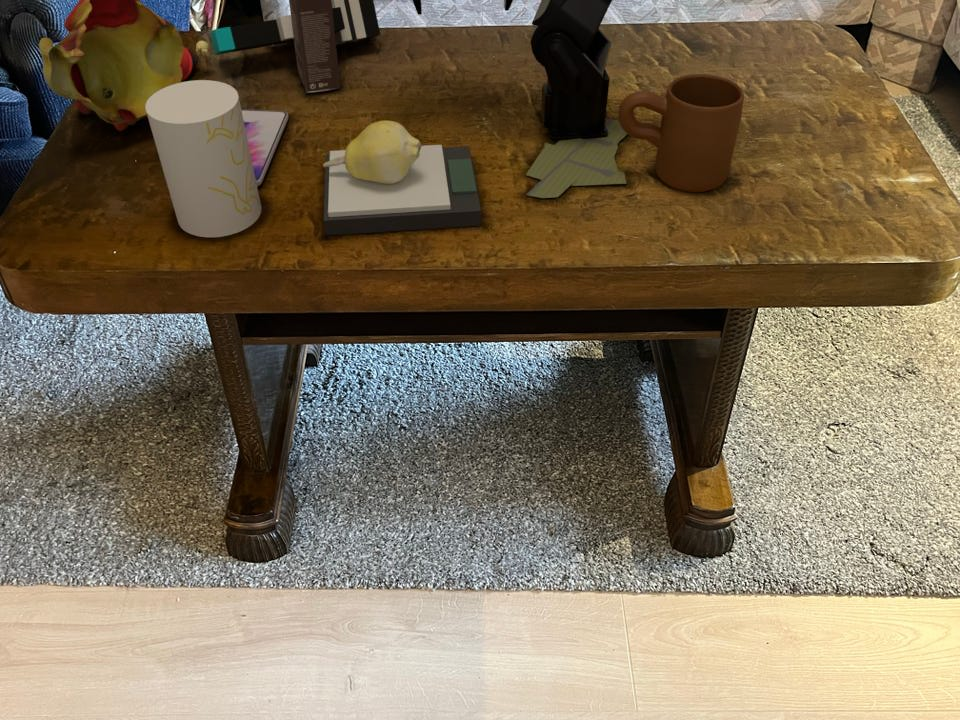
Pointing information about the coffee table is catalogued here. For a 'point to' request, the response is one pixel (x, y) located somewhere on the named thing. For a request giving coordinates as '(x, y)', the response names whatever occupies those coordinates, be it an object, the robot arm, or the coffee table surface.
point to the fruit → (380, 153)
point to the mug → (689, 129)
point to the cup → (205, 157)
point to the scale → (404, 195)
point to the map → (578, 163)
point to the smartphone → (263, 137)
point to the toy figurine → (192, 58)
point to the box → (315, 44)
